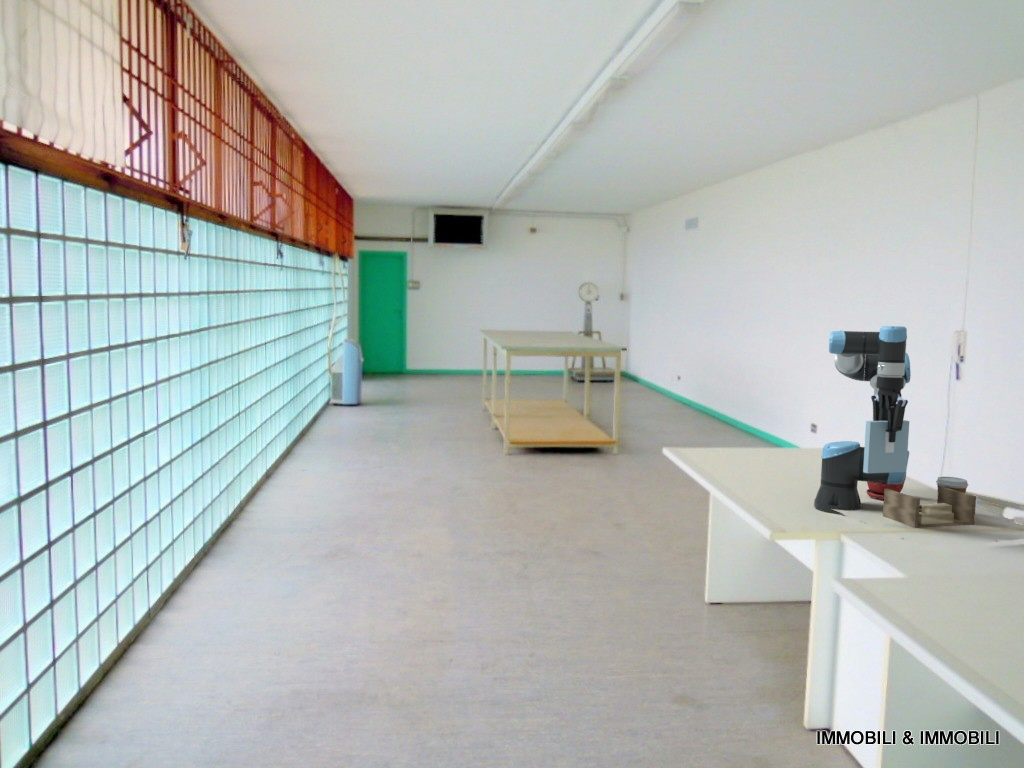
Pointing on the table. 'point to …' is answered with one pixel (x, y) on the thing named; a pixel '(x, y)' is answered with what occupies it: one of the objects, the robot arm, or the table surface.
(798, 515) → the table surface
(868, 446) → the panel
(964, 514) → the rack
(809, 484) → the table surface
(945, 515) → the offcut stack
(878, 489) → the plant pot
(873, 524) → the table surface
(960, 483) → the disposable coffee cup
